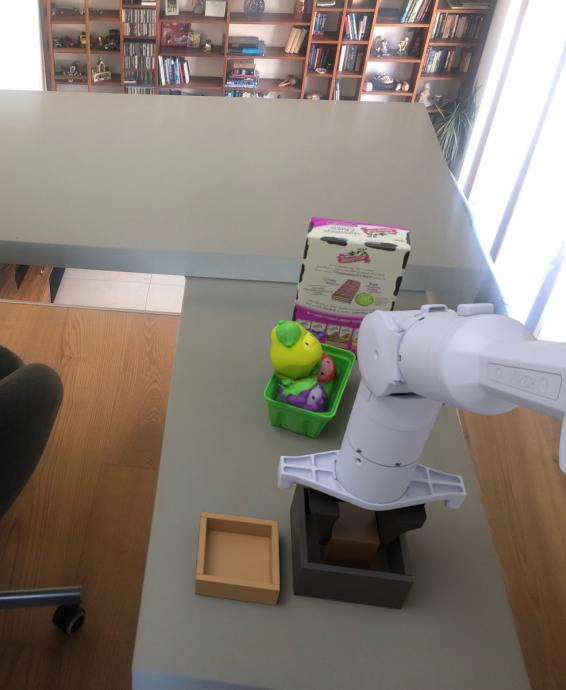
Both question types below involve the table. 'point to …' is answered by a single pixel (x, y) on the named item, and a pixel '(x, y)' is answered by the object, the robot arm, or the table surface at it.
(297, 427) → the fruit basket
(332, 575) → the black basket
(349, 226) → the candy bar box
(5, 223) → the table surface
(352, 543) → the walnut block
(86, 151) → the table surface
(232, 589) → the kraft box
